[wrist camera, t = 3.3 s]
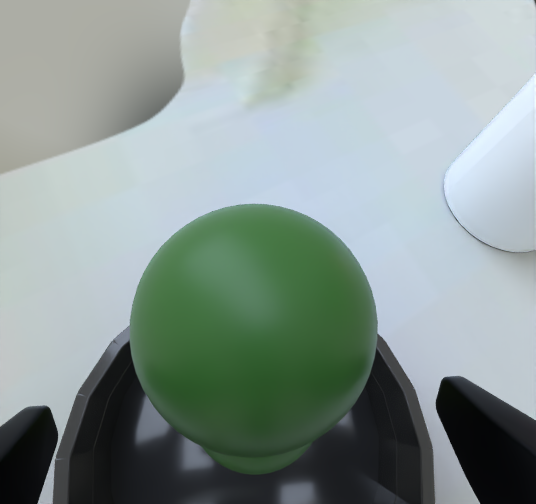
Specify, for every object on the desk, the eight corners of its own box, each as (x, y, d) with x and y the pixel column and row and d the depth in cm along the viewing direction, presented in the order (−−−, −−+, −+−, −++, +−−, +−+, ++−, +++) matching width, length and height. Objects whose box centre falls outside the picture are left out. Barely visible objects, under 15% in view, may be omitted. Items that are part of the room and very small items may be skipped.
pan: (321, 696, 13) (360, 840, 9) (38, 519, 14) (-44, 572, 10) (417, 371, 18) (471, 365, 14) (199, 261, 19) (188, 226, 15)
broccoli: (304, 425, 16) (482, 518, 4) (191, 434, 15) (46, 568, 4) (292, 296, 18) (387, 129, 7) (194, 300, 18) (107, 127, 6)
